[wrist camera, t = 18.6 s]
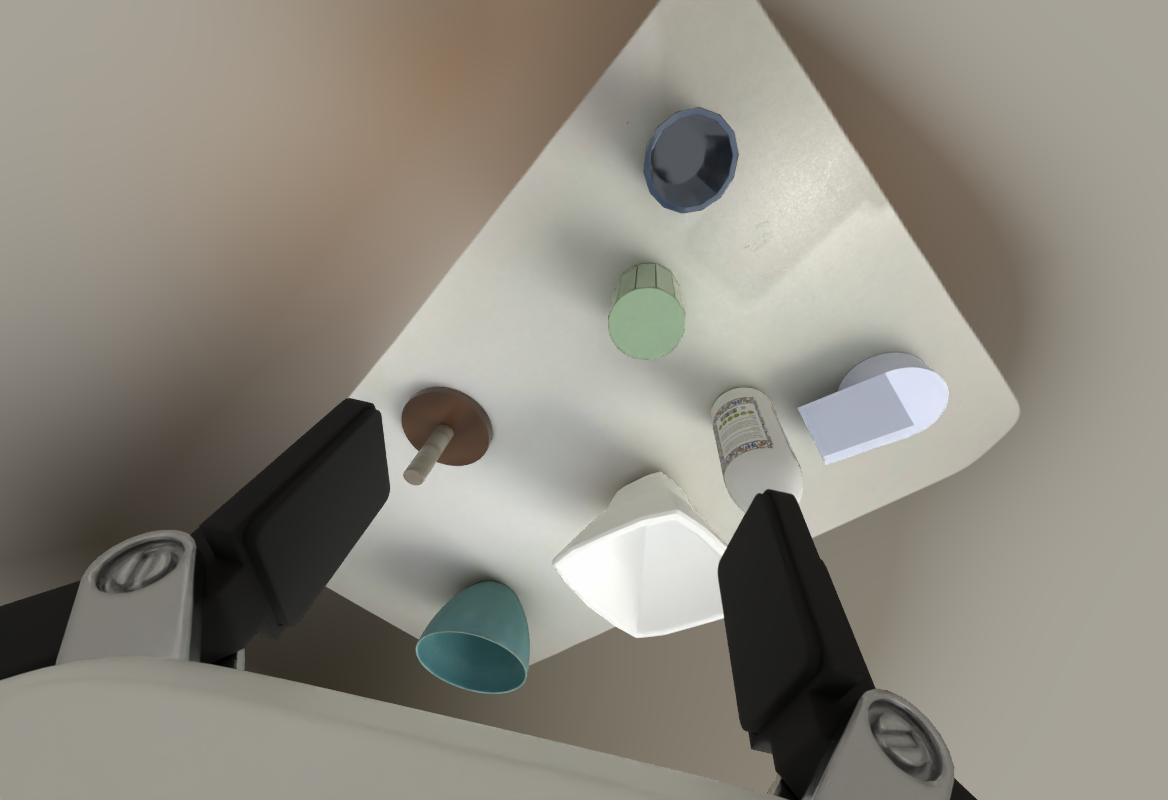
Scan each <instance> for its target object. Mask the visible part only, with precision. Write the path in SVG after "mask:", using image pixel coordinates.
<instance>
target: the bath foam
mask: <svg viewBox="0 0 1168 800" xmlns="http://www.w3.org/2000/svg"><path fill="white" fill-rule="evenodd" d="M711 420H712V425H713V430H714V435H715V440H716V444H717V449H718V454H719V458H720V463H721V468H722V473H723V477H724V482H725V485H726V488H727V490H728V493H729V494H730V496H731V498H732V500H733V501H734V502H735V504H736V505H737V506H738V507H739V508H740V509H741V510H742V511H744V512H745V513H746V512H747V510H748V508H749V506H750V504H751V503H752V501H753V499H754V497H755V496H756V494H758V493H761V494H763V493H764V491H765V490H767V489H772V490H776V491H781V492H785V493H790V494H793V495H794V496H795V498H796V500H797V502H798V504H799V502H800V500H801V497H802V493H803V476H802V472H801V468H800V465H799V463H798V461H797V458H796V456H795V454H794V452H793V449H792V447H791V445H790V443H789V440H788V438H787V436H786V434H785V432H784V429H783V427H782V425H781V423H780V420H779V418H778V416H777V414H776V412H775V410H774V407H773V405H772V403H771V401H770V400H769V398H768V397H767V396H766V395H765V394H764V393H762V392H761V391H759V390H756V389H753V388H747V387H742V388H735V389H732V390H729V391H727V392H725V393H724V394H722V395H721V396H720V397H719V398H718V399H717V400H716V401H715V403H714V405H713V407H712V410H711Z"/></svg>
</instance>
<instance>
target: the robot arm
mask: <svg viewBox="0 0 1168 800" xmlns="http://www.w3.org/2000/svg"><path fill="white" fill-rule="evenodd" d="M389 493H390V483H389V475H388V466H387V458H386V450H385V442H384V433H383V425H382V417H381V413H380V411H378V410H376V409H375V406H374V404H372V403H370V402H365V401H360V400H356V399H351V398H347V399H345V400H344V401H342V402H341V403H340V404H339V405H337V407H335V408H334V409H333V410H332V411H331V412H330V413H328V414H327V415H326V416H325V417H324V418H323V419H321V420H320V421H319V422H318V423H317V424H316V425H315V426H313V427H312V428H311V429H310V430H309V431H308V432H306V433H305V434H304V435H303V436H302V437H301V438H300V439H298V440H297V441H296V442H295V443H294V444H293V445H291V446H290V447H289V448H288V449H287V450H286V451H285V452H284V453H282V454H281V455H280V456H279V457H278V458H277V459H275V460H274V461H273V462H272V463H271V464H270V465H268V466H267V467H266V468H265V469H264V470H263V471H262V472H261V473H259V474H258V475H257V476H256V477H255V478H254V479H253V480H251V481H250V482H249V483H248V484H247V485H245V487H243V488H242V489H241V490H240V491H239V492H238V493H236V494H235V495H234V496H233V497H232V498H231V499H229V500H228V501H227V502H226V503H225V504H224V505H222V506H221V507H220V508H219V509H218V510H217V511H216V512H214V513H213V514H212V515H211V516H210V517H209V518H208V519H206V520H205V521H204V522H203V523H202V524H201V525H199V526H200V527H199V528H198V529H197V530H195V531H194V532H193V533H192V534H191V535H189V534H187V533H184V532H181V531H178V530H159V531H154V532H148V533H145V534H142V535H138V536H135V537H132V538H130V539H128V540H126V541H124V542H122V543H120V544H118V545H116V546H114V547H112V548H111V549H109V550H108V551H107V552H105V553H104V554H102V555H101V556H99V557H98V558H97V559H96V560H95V561H94V562H93V563H92V564H91V565H90V566H89V567H88V568H87V570H86V572H85V574H84V576H83V578H82V579H81V581H78V582H75V583H71V584H68V585H65V586H62V587H59V588H56V589H53V590H50V591H46V592H43V593H40V594H37V595H34V596H31V597H28V598H25V599H22V600H18V601H15V602H13V603H9V604H6V605H3V606H0V800H977V799H976V798H975V797H974V796H973V795H972V794H971V793H969V791H967V790H966V789H965V788H964V787H963V786H962V785H961V784H960V783H959V782H958V781H957V780H956V779H955V778H954V765H953V762H952V758H951V755H950V752H949V750H948V748H947V746H946V744H945V743H944V740H943V739H942V737H941V735H940V734H939V732H938V731H937V730H936V729H935V727H934V726H933V724H932V723H931V722H930V721H929V719H928V718H927V717H926V716H925V715H924V714H923V713H921V712H920V711H919V710H918V709H917V708H916V707H915V706H914V705H913V704H911V703H910V702H908V701H907V700H905V699H904V698H903V697H901V696H899V695H897V694H894V693H892V692H890V691H888V690H881V689H875V686H874V684H873V681H872V679H871V676H870V674H869V671H868V669H867V666H866V664H865V661H864V659H863V656H862V654H861V652H860V649H859V647H858V644H857V642H856V639H855V637H854V634H853V632H852V629H851V627H850V624H849V622H848V619H847V617H846V615H845V612H844V610H843V607H842V605H841V602H840V600H839V597H838V595H837V593H836V590H835V588H834V585H833V583H832V580H831V578H830V575H829V573H828V571H827V568H826V566H825V564H824V562H823V561H822V560H821V559H820V557H819V555H818V552H817V550H816V547H815V545H814V542H813V540H812V537H811V535H810V532H809V530H808V527H807V525H806V522H805V520H804V517H803V515H802V512H801V510H800V507H799V505H798V502H797V500H796V498H795V496H794V495H793V494H790V493H785V492H781V491H776V490H772V489H767V490H765V491H764V493H763V494H761V493H758V494H756V496H755V497H754V499H753V501H752V503H751V504H750V506H749V508H748V510H747V512H746V514H745V515H744V517H743V519H742V521H741V523H740V524H739V526H738V528H737V530H736V532H735V534H734V535H733V537H732V539H731V541H730V543H729V545H728V546H727V548H726V550H725V552H724V554H723V555H722V557H721V559H720V561H719V564H718V581H719V588H720V594H721V601H722V608H723V614H724V621H725V627H726V634H727V640H728V647H729V653H730V660H731V666H732V673H733V680H734V686H735V693H736V699H737V706H738V712H739V719H740V723H741V726H742V728H743V730H745V731H748V732H749V738H750V744H751V749H753V750H757V751H762V752H767V753H771V754H773V759H774V765H775V770H776V772H777V773H778V774H777V775H776V777H775V779H774V781H773V783H772V785H771V787H770V788H769V790H768V792H767V793H764V792H760V791H756V790H752V789H748V788H744V787H741V786H737V785H733V784H729V783H725V782H721V781H717V780H713V779H710V778H706V777H702V776H698V775H694V774H690V773H686V772H681V771H677V770H673V769H669V768H665V767H661V766H656V765H652V764H648V763H644V762H640V761H635V760H631V759H627V758H623V757H619V756H614V755H610V754H605V753H602V752H598V751H593V750H589V749H585V748H581V747H577V746H572V745H568V744H564V743H559V742H555V741H551V740H546V739H542V738H538V737H534V736H529V735H525V734H521V733H517V732H512V731H508V730H503V729H499V728H495V727H491V726H487V725H482V724H478V723H473V722H469V721H465V720H460V719H456V718H452V717H448V716H443V715H439V714H435V713H430V712H426V711H421V710H418V709H413V708H409V707H404V706H400V705H396V704H391V703H387V702H382V701H378V700H373V699H369V698H364V697H360V696H356V695H352V694H347V693H343V692H338V691H334V690H330V689H325V688H321V687H316V686H312V685H307V684H303V683H299V682H294V681H289V680H285V679H280V678H275V677H270V676H266V675H261V674H256V673H251V672H246V671H245V669H244V668H245V664H244V663H245V661H244V659H245V654H244V652H245V651H244V648H245V647H246V646H247V644H248V643H249V642H250V641H251V640H252V638H253V637H254V636H255V635H258V636H263V637H267V638H271V639H276V640H279V639H280V638H281V636H282V635H283V634H284V632H285V631H286V630H287V628H288V627H289V626H295V625H296V624H297V623H298V622H300V620H301V619H302V618H303V617H304V615H305V613H306V612H307V611H308V610H309V608H310V607H311V605H312V604H313V603H314V601H315V600H316V598H317V597H318V596H319V594H320V593H321V591H322V590H323V589H324V587H325V586H326V584H327V583H328V582H329V580H330V579H331V578H332V576H333V575H334V573H335V572H336V571H337V569H338V568H339V566H340V565H341V564H342V562H343V561H344V559H345V558H346V557H347V555H348V554H349V552H350V551H351V550H352V548H353V547H354V546H355V544H356V543H357V541H358V540H359V539H360V537H361V536H362V534H363V533H364V532H365V530H366V529H367V527H368V526H369V525H370V523H371V522H372V520H373V519H374V518H375V516H376V515H377V513H378V512H379V511H380V509H381V508H382V507H383V505H384V504H385V502H386V501H387V499H388V496H389Z"/></svg>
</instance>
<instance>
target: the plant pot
mask: <svg viewBox="0 0 1168 800" xmlns="http://www.w3.org/2000/svg"><path fill="white" fill-rule="evenodd" d="M416 654H417V657H418V659H419V661H420V662H421V664H422V665H423V666H424V667H425V668H426V669H427V670H428V671H429V672H431V673H432V674H433V675H435V676H436V677H438V678H440V679H441V680H443V681H445V682H447V683H450V684H452V685H454V686H457V687H460V688H463V689H466V690H470V691H475V692H480V693H490V694H496V693H497V694H498V693H506V692H511V691H513V690H516V689H518V688H519V687H521V686H522V685H523V684H524V683H525V681H526V678H527V673H528V667H529V655H530V641H529V630H528V624H527V620H526V616H525V613H524V611H523V608H522V606H521V603H520V601H519V599H518V597H517V596H516V594H515V593H514V592H513V591H512V590H511V589H510V588H509V587H507V586H505V585H503V584H501V583H498V582H493V581H484V582H479V583H477V584H474V585H472V586H471V587H469V588H467V589H465V590H463V591H462V592H460V593H459V594H457V595H456V596H455V597H453V598H452V599H451V600H450V601H449V602H447V603H446V604H445V605H444V606H443V607H442V609H441V610H440V611H439V612H438V613H437V614H436V615H435V617H434V618H433V619H432V620H431V622H430V623H429V625H428V626H427V627H426V629H425V631H424V632H423V634H422V636H421V637H420V639H419V641H418V643H417V645H416Z"/></svg>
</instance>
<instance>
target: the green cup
mask: <svg viewBox="0 0 1168 800" xmlns="http://www.w3.org/2000/svg"><path fill="white" fill-rule="evenodd" d="M608 328H609V334H610V336H611V339H612V341H613V342H614V344H615V345H616V346H617V348H618V349H620V350H621V351H622V352H623V353H625V354H626V355H628V356H631V357H633V358H637V359H646V360H647V359H655V358H658V357H661V356H663V355H666V354H667V353H669V352H670V351H671V350H673V349H674V348H675V347H676V346H677V344H678V343H679V342H680V340H681V338H682V336H683V333H684V331H685V310H684V305H683V299H682V294H681V289H680V285H679V283H678V282H677V280H676V278H675V277H674V275H673V273H672V272H671V271H670V270H668V269H666V268H664V267H662V266H660V265H658V264H656V265H655V263H651V264H638V266H637V265H636V266H634V267H632V268H631V269H629V270H628V271H626V272H625V273H623V275H621V277H620V279H619V281H618V283H617V285H616V287H615V289H614V294H613V298H612V302H611V306H610V311H609V315H608Z"/></svg>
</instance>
